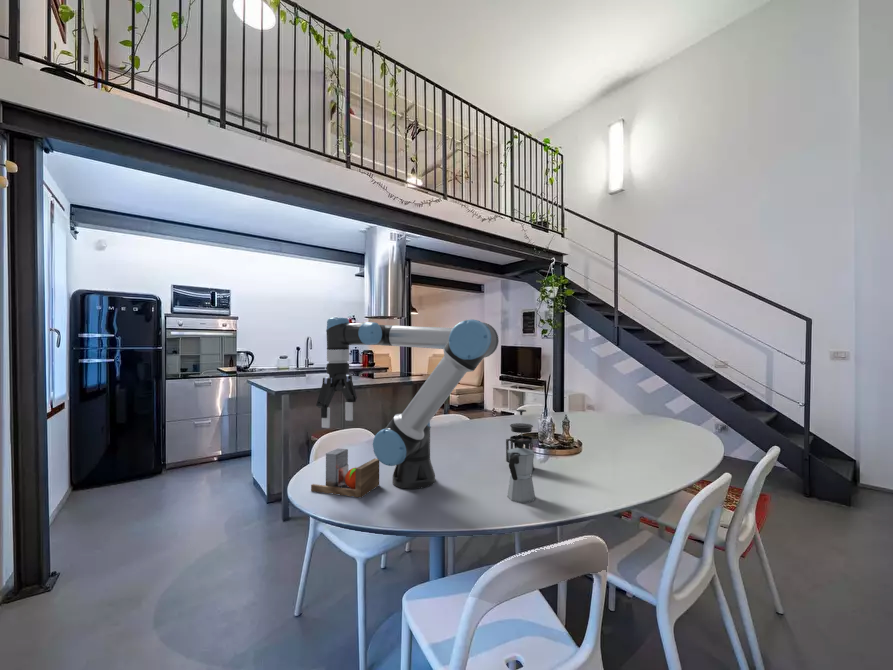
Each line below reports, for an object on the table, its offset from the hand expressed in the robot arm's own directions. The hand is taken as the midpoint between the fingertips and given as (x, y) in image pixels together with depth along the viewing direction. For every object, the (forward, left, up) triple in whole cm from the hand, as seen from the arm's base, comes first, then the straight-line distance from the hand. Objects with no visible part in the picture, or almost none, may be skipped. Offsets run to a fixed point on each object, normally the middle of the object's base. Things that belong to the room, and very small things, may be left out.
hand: (338, 424), depth 132 cm
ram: (0, 0, -21) cm, 21 cm away
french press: (-57, -40, -22) cm, 73 cm away
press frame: (-3, 0, -21) cm, 22 cm away
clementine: (-7, 0, -22) cm, 23 cm away
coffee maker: (-61, -9, -22) cm, 65 cm away
